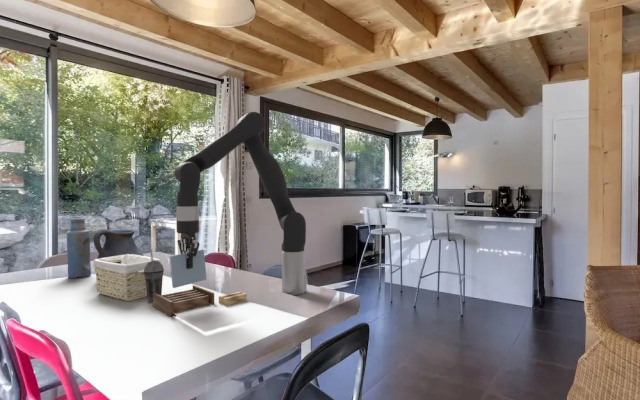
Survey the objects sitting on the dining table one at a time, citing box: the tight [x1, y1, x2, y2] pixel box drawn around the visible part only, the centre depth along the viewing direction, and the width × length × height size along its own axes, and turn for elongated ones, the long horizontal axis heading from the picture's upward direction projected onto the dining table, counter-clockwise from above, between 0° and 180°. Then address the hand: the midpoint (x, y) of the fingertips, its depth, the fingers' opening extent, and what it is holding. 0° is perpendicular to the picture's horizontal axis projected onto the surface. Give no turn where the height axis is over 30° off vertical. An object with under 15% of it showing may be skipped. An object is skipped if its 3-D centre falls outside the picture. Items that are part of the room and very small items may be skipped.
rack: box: [152, 284, 215, 318], centre depth 136 cm, size 16×16×5 cm
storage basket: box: [93, 254, 162, 302], centre depth 154 cm, size 24×16×15 cm
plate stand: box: [218, 291, 248, 307], centre depth 138 cm, size 9×5×4 cm, turn 134°
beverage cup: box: [143, 249, 165, 304], centre depth 143 cm, size 7×7×20 cm
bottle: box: [66, 216, 92, 279], centre depth 187 cm, size 10×10×30 cm
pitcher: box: [93, 228, 145, 264], centre depth 179 cm, size 21×22×25 cm
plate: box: [169, 249, 207, 289], centre depth 133 cm, size 12×1×11 cm, turn 133°
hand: (188, 267), depth 133 cm, fingers closed on plate, 1 cm apart
